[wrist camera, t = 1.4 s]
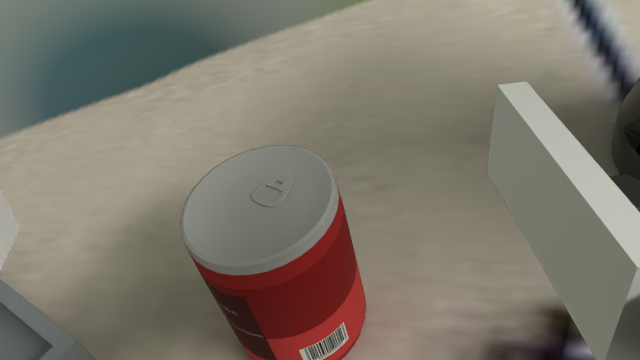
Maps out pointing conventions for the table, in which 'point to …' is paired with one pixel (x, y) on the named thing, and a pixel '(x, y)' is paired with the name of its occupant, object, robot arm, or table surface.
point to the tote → (33, 332)
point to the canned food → (277, 253)
